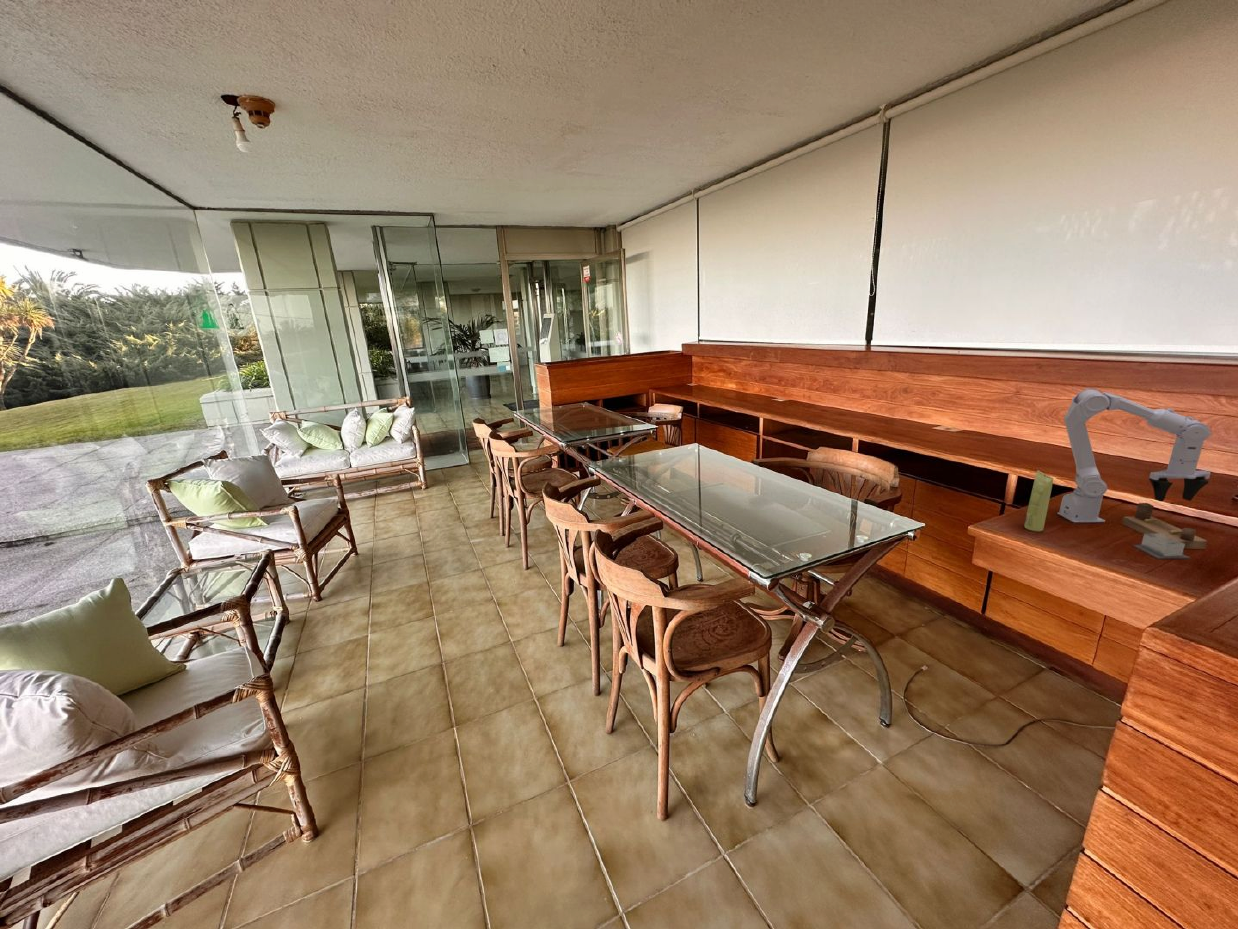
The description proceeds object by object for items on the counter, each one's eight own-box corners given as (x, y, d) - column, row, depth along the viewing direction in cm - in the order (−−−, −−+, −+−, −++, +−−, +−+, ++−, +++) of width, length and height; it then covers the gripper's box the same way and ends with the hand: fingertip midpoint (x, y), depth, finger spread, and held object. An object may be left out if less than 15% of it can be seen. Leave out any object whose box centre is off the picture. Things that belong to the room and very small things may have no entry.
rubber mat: (1157, 559, 138) (1157, 557, 138) (1133, 546, 146) (1133, 545, 146) (1189, 558, 137) (1190, 557, 137) (1163, 545, 145) (1163, 544, 144)
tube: (1048, 529, 160) (1059, 473, 154) (1042, 533, 157) (1053, 477, 152) (1027, 524, 164) (1037, 470, 159) (1021, 528, 162) (1031, 473, 156)
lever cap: (1163, 557, 138) (1167, 544, 137) (1141, 545, 145) (1144, 533, 144) (1181, 556, 138) (1185, 544, 137) (1157, 545, 144) (1161, 533, 143)
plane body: (1173, 549, 143) (1180, 525, 140) (1121, 523, 160) (1127, 502, 157) (1205, 548, 141) (1212, 525, 139) (1149, 523, 158) (1155, 502, 156)
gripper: (1169, 463, 146) (1158, 505, 150) (1225, 461, 144) (1212, 504, 148) (1148, 457, 152) (1137, 496, 156) (1201, 455, 150) (1189, 495, 154)
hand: (1172, 499), depth 152 cm, fingers open, 7 cm apart
